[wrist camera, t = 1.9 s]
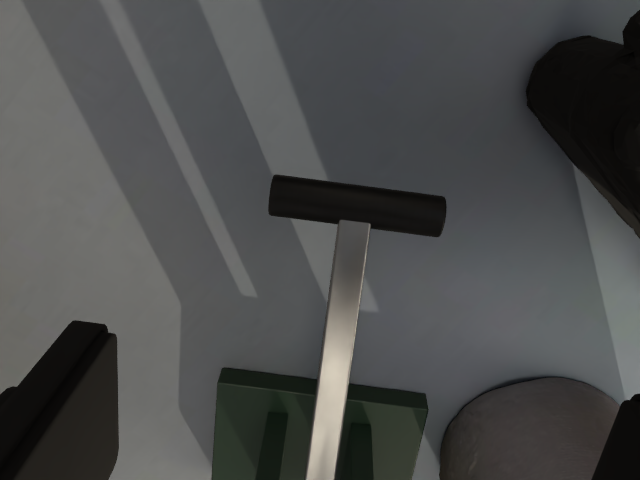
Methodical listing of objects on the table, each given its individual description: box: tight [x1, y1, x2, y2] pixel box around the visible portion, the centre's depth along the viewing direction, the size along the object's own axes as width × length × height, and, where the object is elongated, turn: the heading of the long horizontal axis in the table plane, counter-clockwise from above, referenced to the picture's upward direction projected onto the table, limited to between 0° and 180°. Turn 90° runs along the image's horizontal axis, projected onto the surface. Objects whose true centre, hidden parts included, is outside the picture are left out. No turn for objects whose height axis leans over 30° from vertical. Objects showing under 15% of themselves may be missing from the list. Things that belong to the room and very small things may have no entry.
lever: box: [268, 175, 446, 480], centre depth 22 cm, size 17×6×2 cm, turn 173°
